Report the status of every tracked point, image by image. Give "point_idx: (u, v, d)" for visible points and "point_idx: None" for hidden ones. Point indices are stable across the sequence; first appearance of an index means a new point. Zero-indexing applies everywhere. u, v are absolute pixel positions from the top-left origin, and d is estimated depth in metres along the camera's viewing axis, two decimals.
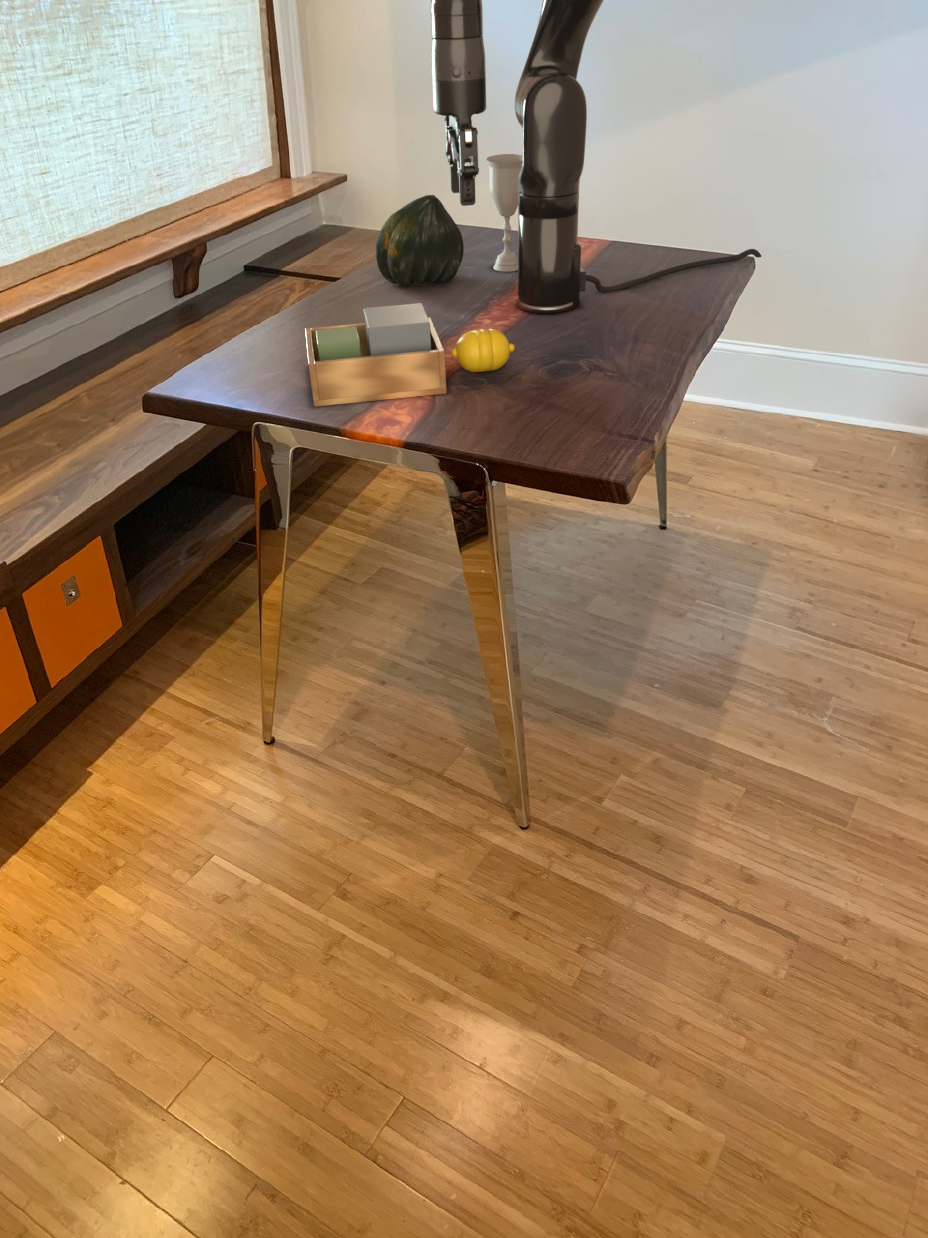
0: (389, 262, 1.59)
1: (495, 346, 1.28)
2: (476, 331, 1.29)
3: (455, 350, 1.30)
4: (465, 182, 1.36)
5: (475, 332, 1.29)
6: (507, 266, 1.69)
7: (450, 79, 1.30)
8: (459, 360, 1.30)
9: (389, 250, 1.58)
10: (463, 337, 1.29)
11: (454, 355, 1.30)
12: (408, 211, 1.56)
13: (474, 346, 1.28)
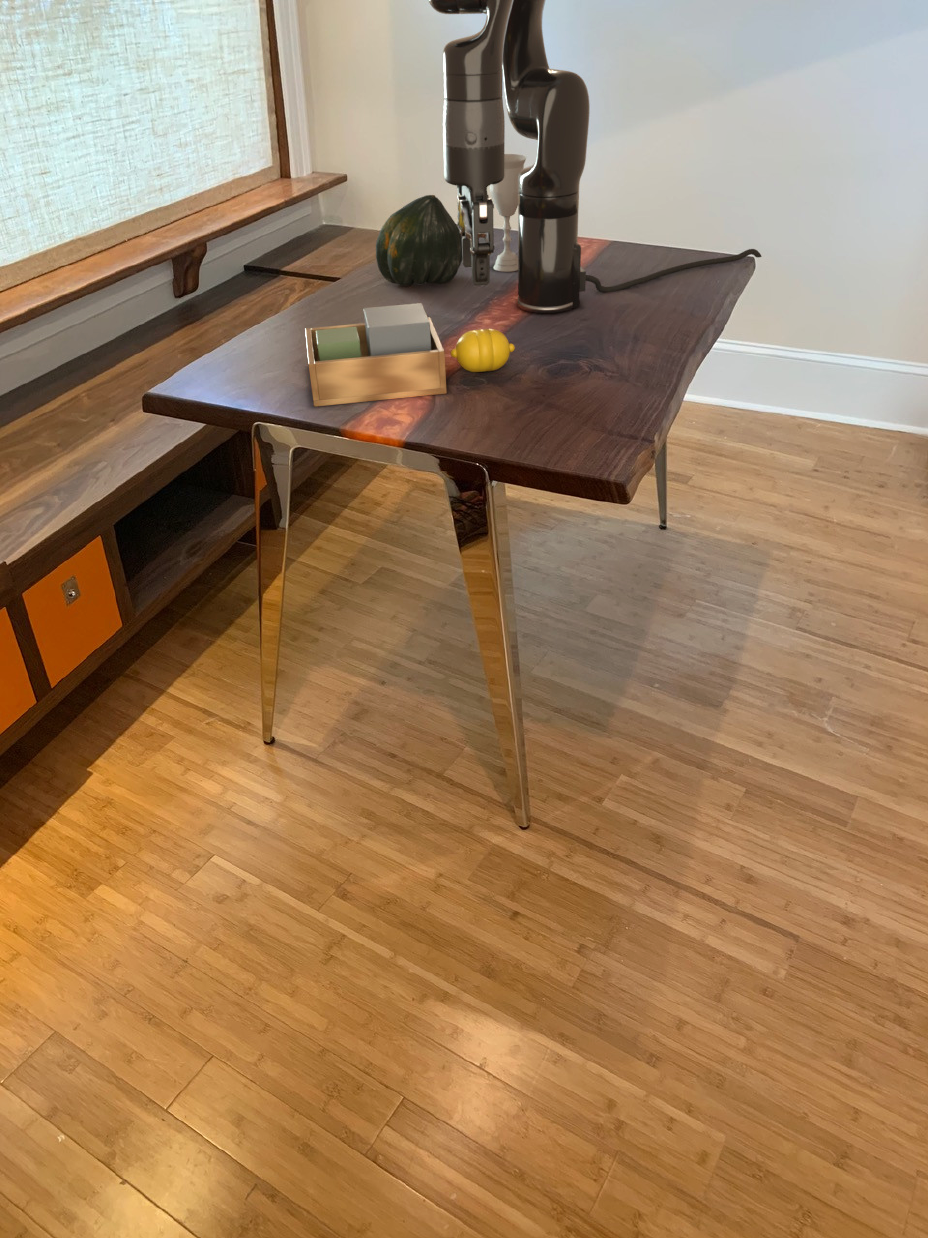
0: (389, 262, 1.59)
1: (495, 346, 1.28)
2: (476, 331, 1.29)
3: (455, 350, 1.30)
4: (478, 260, 1.19)
5: (475, 332, 1.29)
6: (507, 266, 1.69)
7: (463, 146, 1.13)
8: (459, 360, 1.30)
9: (389, 250, 1.58)
10: (463, 337, 1.29)
11: (454, 355, 1.30)
12: (408, 211, 1.56)
13: (474, 346, 1.28)
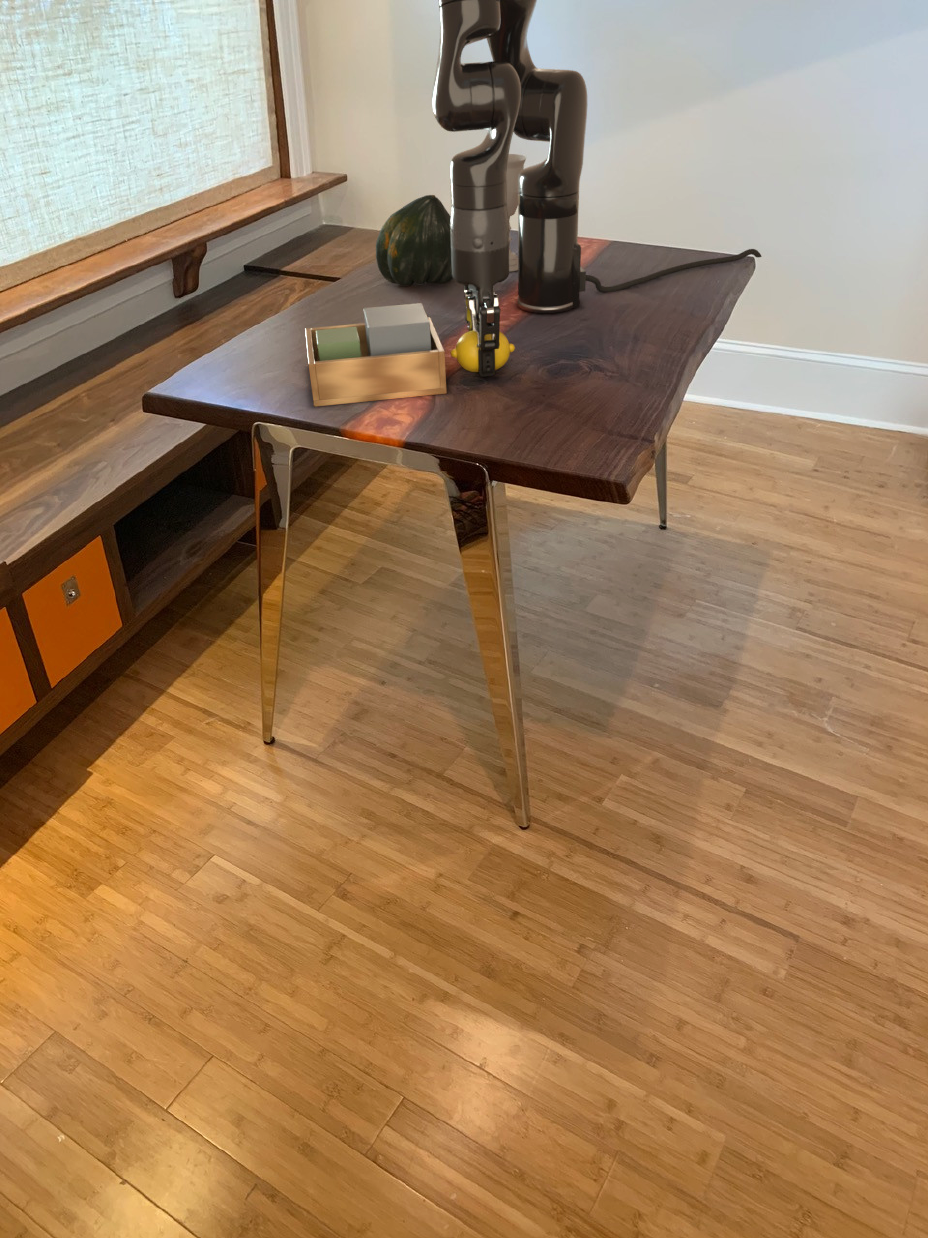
0: (389, 262, 1.59)
1: None
2: None
3: (455, 350, 1.30)
4: (484, 355, 1.27)
5: (475, 333, 1.29)
6: None
7: (471, 250, 1.20)
8: (459, 360, 1.30)
9: (389, 250, 1.58)
10: (463, 337, 1.29)
11: (454, 355, 1.30)
12: (408, 211, 1.56)
13: (474, 346, 1.28)
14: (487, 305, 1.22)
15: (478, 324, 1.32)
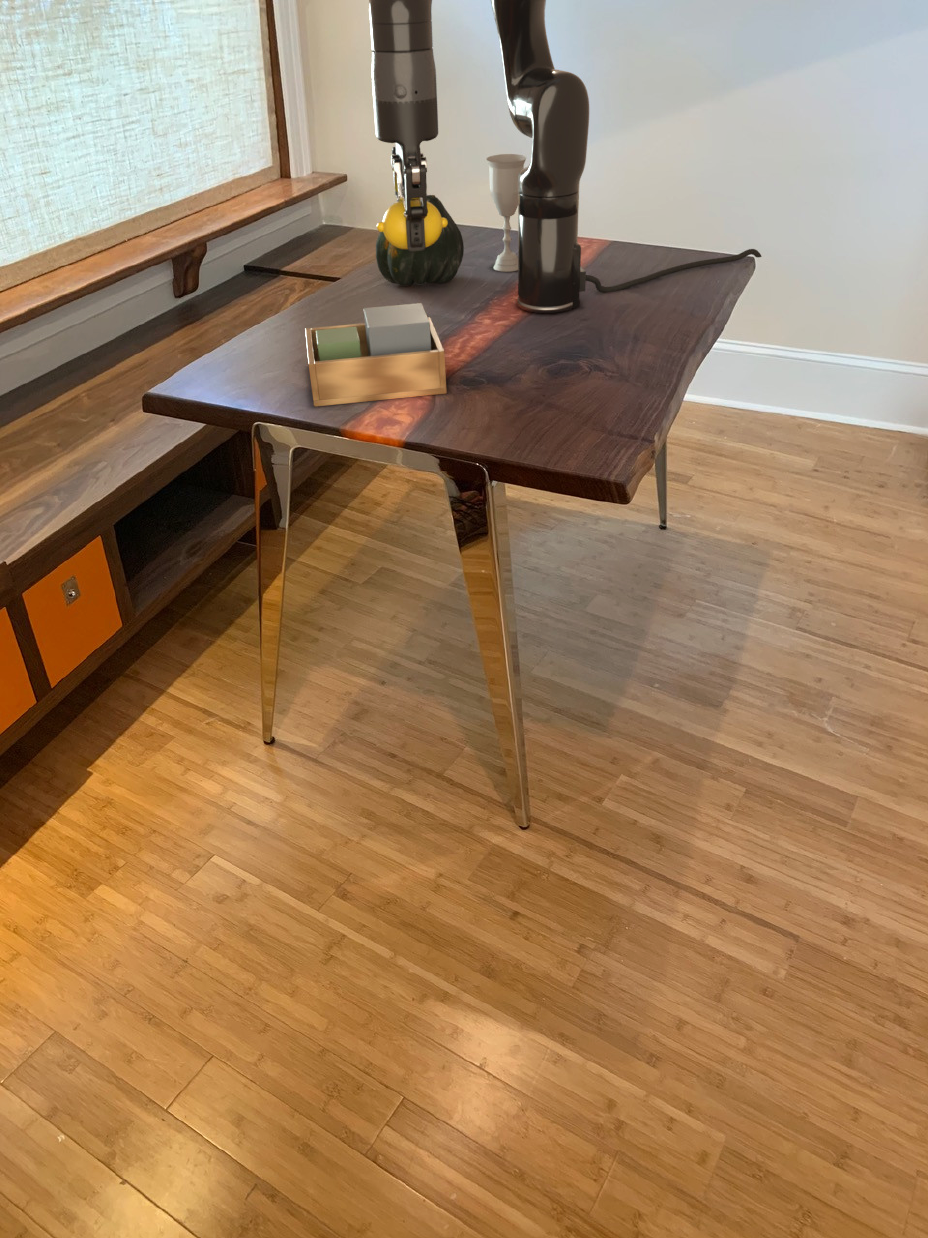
0: (389, 262, 1.59)
1: (425, 217, 1.17)
2: None
3: (382, 223, 1.19)
4: (412, 225, 1.16)
5: None
6: (507, 266, 1.69)
7: (393, 100, 1.08)
8: (386, 234, 1.19)
9: (389, 250, 1.58)
10: (390, 208, 1.18)
11: (381, 228, 1.19)
12: None
13: (401, 217, 1.17)
14: (412, 164, 1.10)
15: None
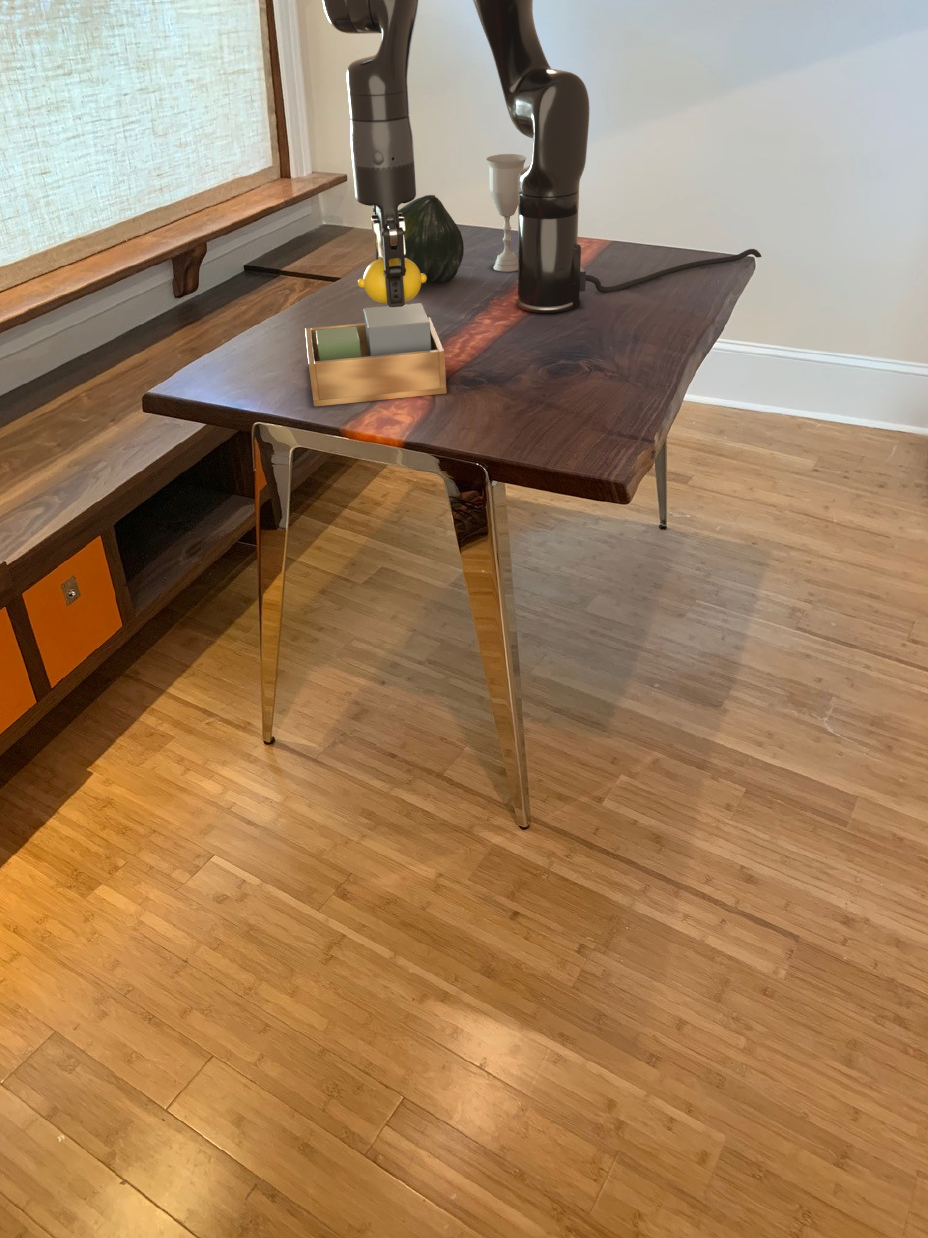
0: None
1: None
2: None
3: (363, 279, 1.23)
4: (392, 283, 1.19)
5: None
6: (507, 266, 1.69)
7: (371, 166, 1.12)
8: (367, 290, 1.22)
9: None
10: (370, 265, 1.22)
11: (361, 285, 1.23)
12: (408, 211, 1.56)
13: (381, 274, 1.21)
14: (390, 226, 1.14)
15: None
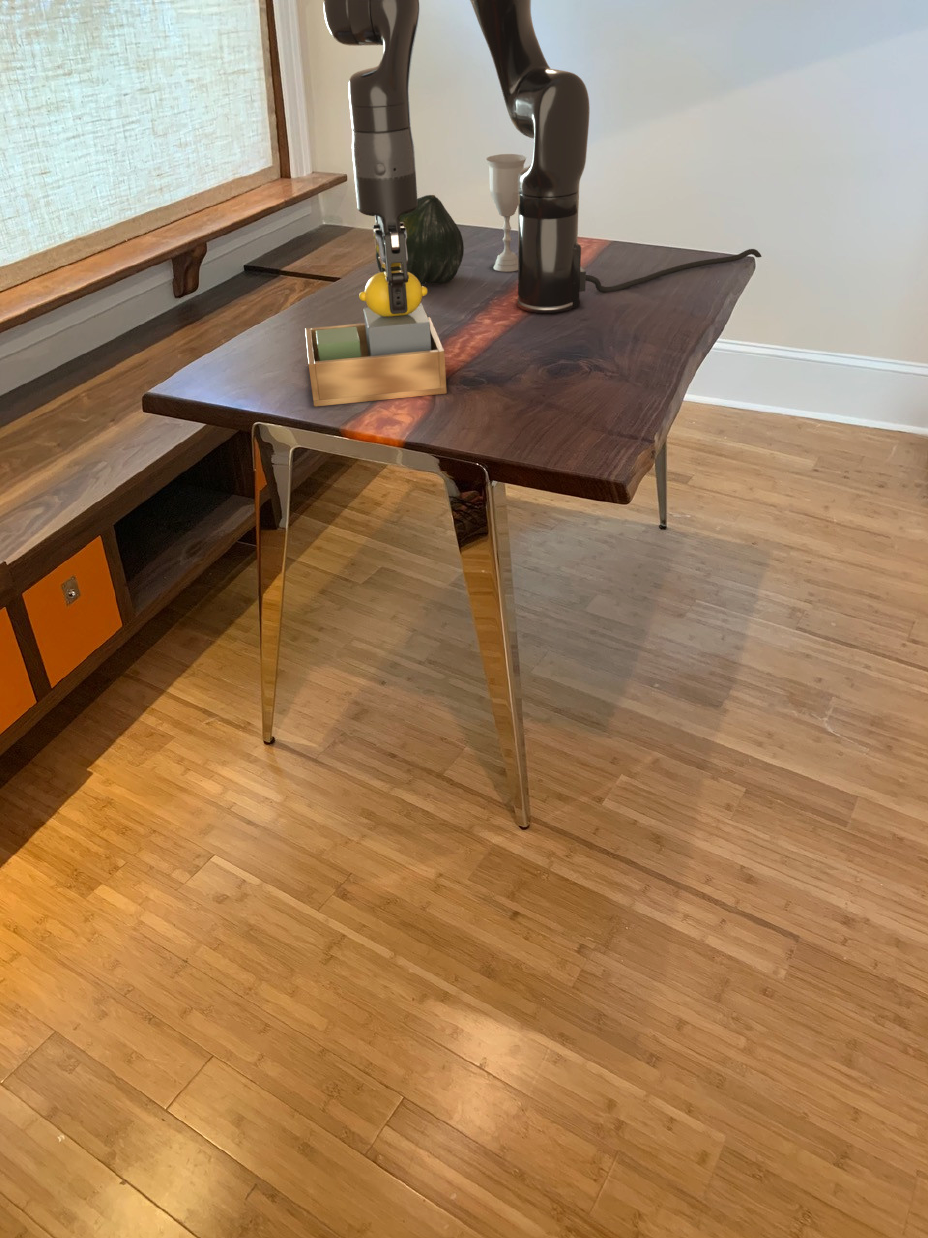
0: None
1: None
2: (385, 272, 1.22)
3: (364, 292, 1.24)
4: (394, 289, 1.19)
5: (384, 274, 1.22)
6: (507, 266, 1.69)
7: (373, 177, 1.13)
8: (368, 303, 1.23)
9: None
10: (371, 279, 1.22)
11: (363, 298, 1.23)
12: None
13: (382, 288, 1.21)
14: (392, 231, 1.14)
15: None
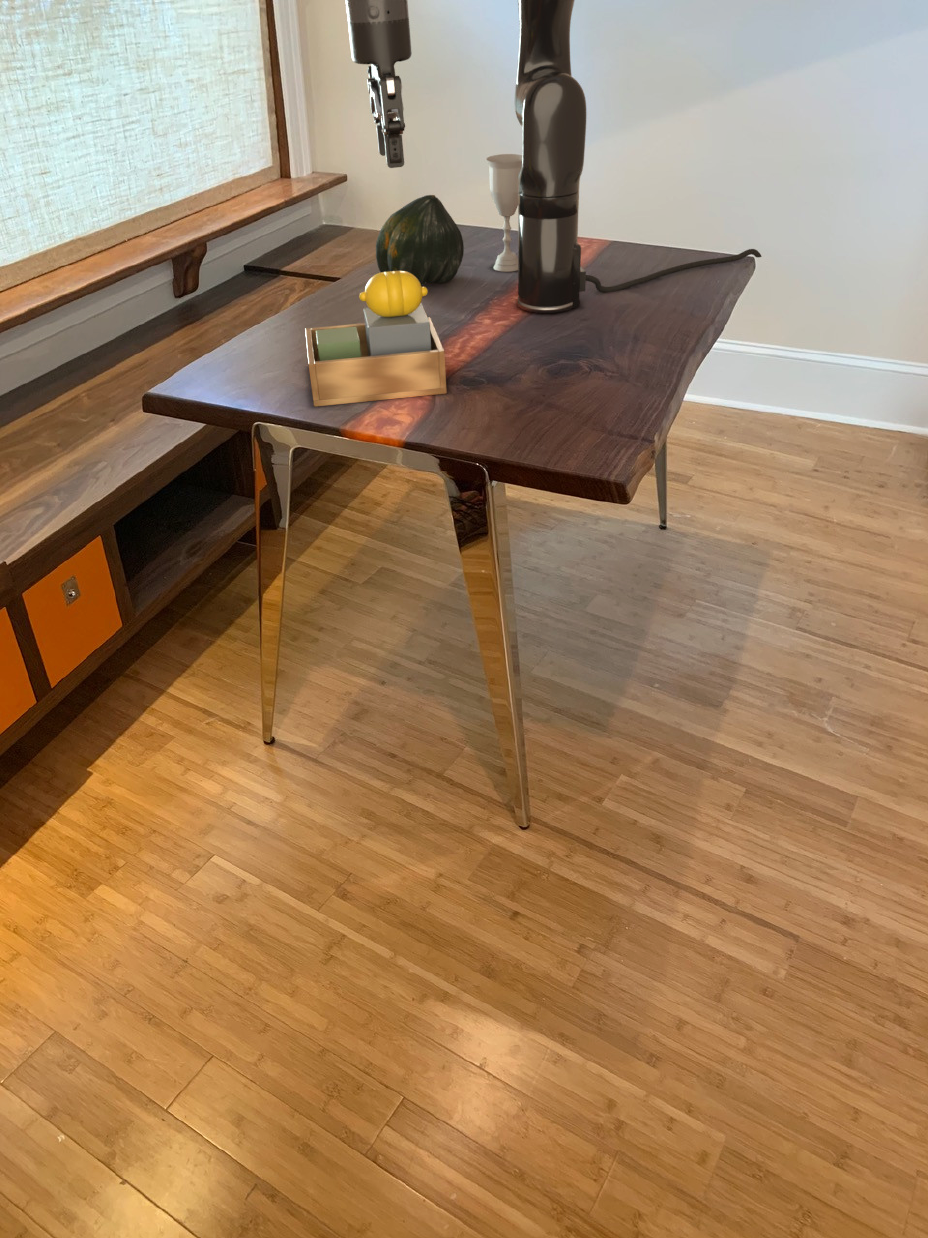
0: (389, 262, 1.59)
1: (405, 289, 1.22)
2: (385, 273, 1.22)
3: (364, 293, 1.23)
4: (391, 140, 1.19)
5: (384, 275, 1.22)
6: (507, 266, 1.69)
7: (367, 21, 1.13)
8: (368, 304, 1.23)
9: (389, 250, 1.58)
10: (372, 279, 1.22)
11: (363, 298, 1.23)
12: (408, 211, 1.56)
13: (382, 289, 1.21)
14: None
15: None
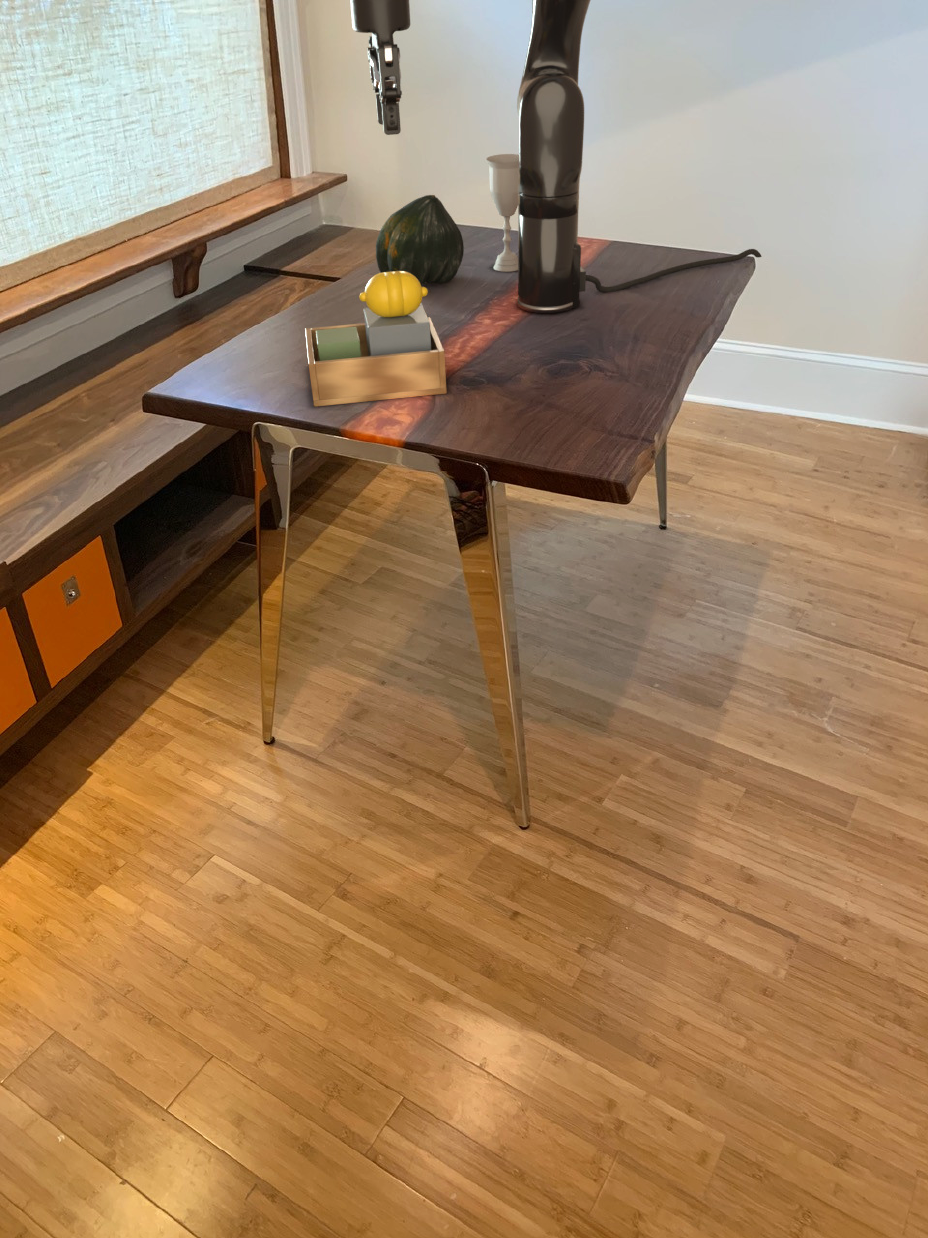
0: (389, 262, 1.59)
1: (405, 291, 1.22)
2: (386, 274, 1.22)
3: (364, 293, 1.23)
4: (388, 107, 1.23)
5: (384, 275, 1.22)
6: (507, 266, 1.69)
7: None
8: (368, 304, 1.23)
9: (389, 250, 1.58)
10: (372, 280, 1.22)
11: (363, 299, 1.23)
12: (408, 211, 1.56)
13: (383, 290, 1.21)
14: None
15: None
